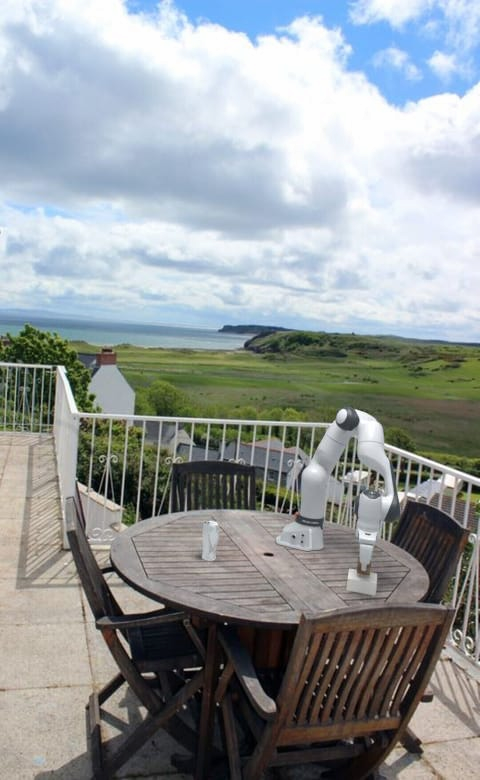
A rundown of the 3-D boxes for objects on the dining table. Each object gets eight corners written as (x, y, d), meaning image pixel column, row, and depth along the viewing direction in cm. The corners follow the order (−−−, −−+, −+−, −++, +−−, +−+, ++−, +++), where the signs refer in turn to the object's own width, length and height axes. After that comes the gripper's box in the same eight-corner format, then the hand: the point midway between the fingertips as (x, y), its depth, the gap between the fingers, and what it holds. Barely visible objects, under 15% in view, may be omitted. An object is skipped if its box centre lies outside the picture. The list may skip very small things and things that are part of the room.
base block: (346, 591, 218) (347, 578, 217) (347, 580, 228) (349, 568, 228) (375, 596, 215) (376, 583, 215) (375, 585, 226) (377, 573, 225)
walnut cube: (356, 573, 219) (358, 560, 219) (357, 568, 224) (358, 556, 224) (369, 575, 218) (371, 563, 218) (369, 570, 223) (371, 558, 223)
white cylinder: (219, 557, 239) (222, 523, 238) (212, 562, 233) (215, 527, 232) (205, 554, 242) (208, 519, 241) (197, 558, 236) (200, 523, 235)
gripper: (359, 524, 231) (356, 557, 232) (358, 539, 211) (354, 575, 212) (375, 526, 230) (371, 559, 231) (376, 542, 210) (371, 578, 211)
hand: (363, 567), depth 221 cm, fingers closed on walnut cube, 5 cm apart
